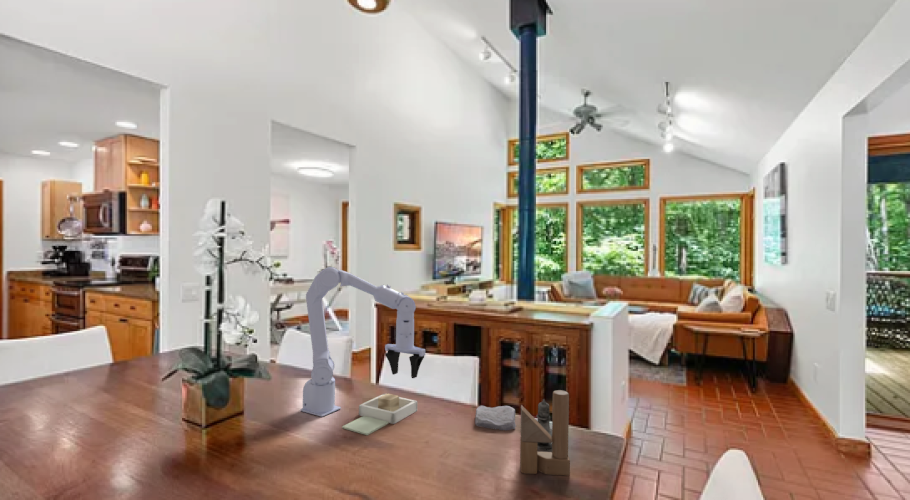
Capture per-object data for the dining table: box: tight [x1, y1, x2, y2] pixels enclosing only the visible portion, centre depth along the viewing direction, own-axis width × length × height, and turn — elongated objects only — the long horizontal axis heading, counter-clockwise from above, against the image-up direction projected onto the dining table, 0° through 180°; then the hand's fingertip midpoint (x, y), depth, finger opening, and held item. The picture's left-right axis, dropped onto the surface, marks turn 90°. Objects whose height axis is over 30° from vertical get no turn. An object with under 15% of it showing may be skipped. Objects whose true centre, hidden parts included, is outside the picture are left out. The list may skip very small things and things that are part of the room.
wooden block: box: [519, 389, 571, 477], centre depth 96 cm, size 4×11×18 cm, turn 85°
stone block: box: [474, 405, 517, 431], centre depth 122 cm, size 12×5×10 cm
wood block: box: [378, 393, 400, 412], centre depth 129 cm, size 4×4×5 cm
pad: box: [341, 416, 389, 436], centre depth 119 cm, size 9×9×1 cm
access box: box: [358, 393, 418, 425], centre depth 129 cm, size 13×12×3 cm
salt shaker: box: [536, 398, 552, 451], centre depth 108 cm, size 6×6×12 cm
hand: (404, 375), depth 136 cm, fingers open, 7 cm apart
